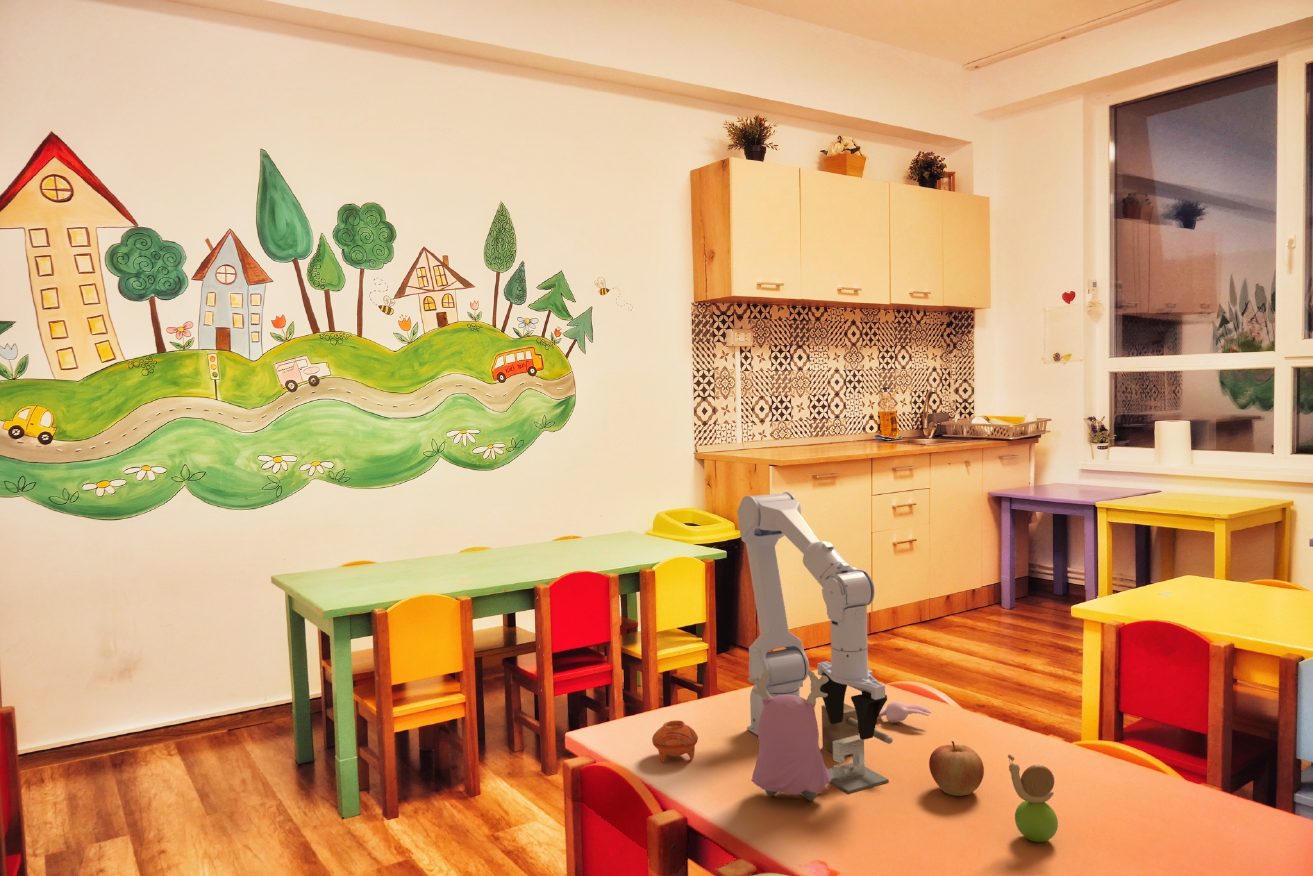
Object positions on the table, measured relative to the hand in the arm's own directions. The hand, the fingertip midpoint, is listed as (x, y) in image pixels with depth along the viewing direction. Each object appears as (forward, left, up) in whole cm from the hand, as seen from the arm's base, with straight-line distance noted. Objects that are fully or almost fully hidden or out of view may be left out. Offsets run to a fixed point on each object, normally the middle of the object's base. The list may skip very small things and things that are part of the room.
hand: (851, 730), depth 143 cm
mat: (0, 0, -8) cm, 8 cm away
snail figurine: (+28, +8, -8) cm, 30 cm away
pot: (-22, -21, -8) cm, 31 cm away
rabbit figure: (-16, +22, -8) cm, 28 cm away
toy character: (+1, -12, -8) cm, 15 cm away
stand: (-5, +6, -8) cm, 11 cm away
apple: (+12, +10, -8) cm, 18 cm away
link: (0, -1, -7) cm, 7 cm away
